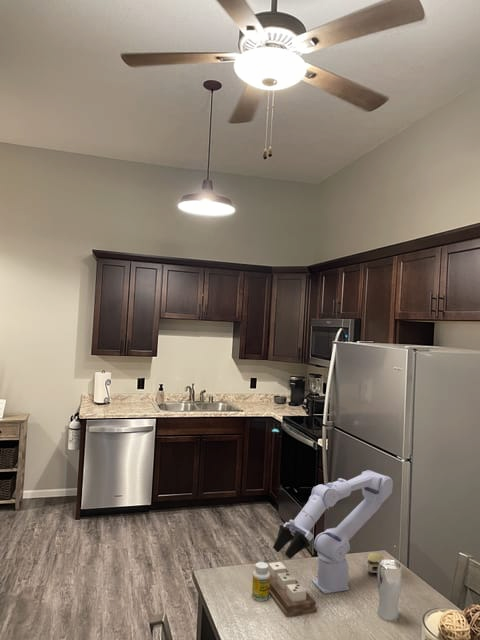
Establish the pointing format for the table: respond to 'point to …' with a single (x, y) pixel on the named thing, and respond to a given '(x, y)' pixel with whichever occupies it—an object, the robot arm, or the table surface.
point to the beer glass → (389, 588)
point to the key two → (285, 580)
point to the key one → (276, 569)
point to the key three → (296, 592)
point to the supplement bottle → (261, 582)
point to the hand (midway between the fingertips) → (281, 553)
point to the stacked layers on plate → (373, 562)
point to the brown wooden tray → (286, 604)
